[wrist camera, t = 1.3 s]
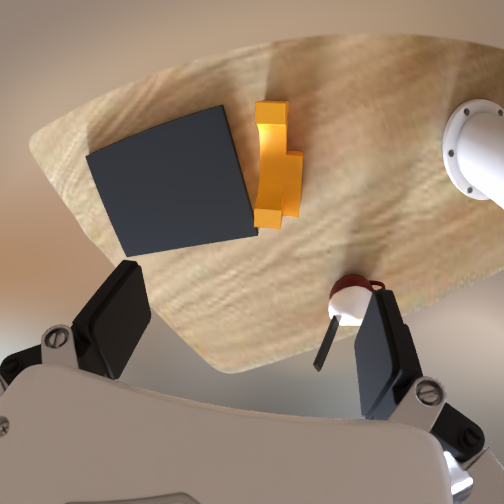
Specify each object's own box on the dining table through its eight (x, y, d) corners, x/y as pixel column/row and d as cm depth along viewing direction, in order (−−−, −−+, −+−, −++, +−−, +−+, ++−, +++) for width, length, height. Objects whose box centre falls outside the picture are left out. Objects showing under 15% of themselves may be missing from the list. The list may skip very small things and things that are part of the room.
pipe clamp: (299, 205, 34) (298, 230, 29) (262, 202, 35) (254, 226, 29) (305, 102, 28) (306, 104, 23) (264, 100, 29) (255, 102, 23)
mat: (223, 104, 30) (221, 105, 29) (258, 232, 37) (257, 235, 36) (88, 155, 35) (85, 156, 34) (129, 254, 42) (126, 257, 41)
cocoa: (381, 265, 36) (402, 330, 26) (378, 301, 40) (394, 367, 29) (311, 270, 39) (310, 338, 28) (313, 307, 42) (313, 374, 31)
